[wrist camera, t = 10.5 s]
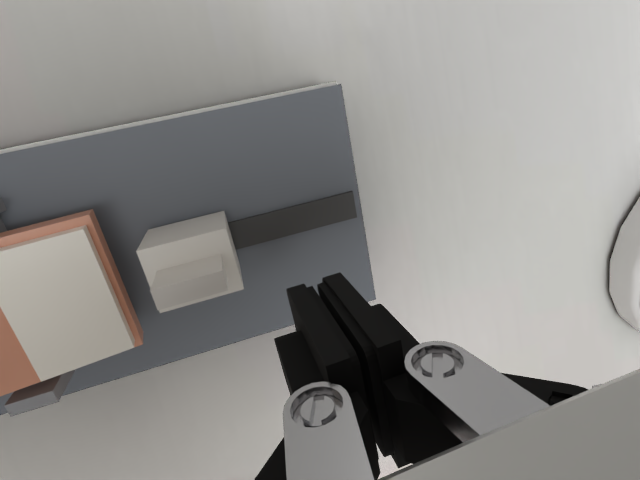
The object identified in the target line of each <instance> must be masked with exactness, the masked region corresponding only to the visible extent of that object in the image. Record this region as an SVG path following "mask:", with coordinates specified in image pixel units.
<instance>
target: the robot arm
mask: <svg viewBox="0 0 640 480" xmlns="http://www.w3.org/2000/svg"><path fill="white" fill-rule="evenodd" d="M317 288H318V293H319V295H318V293H317V292H316V290H315V289H314V287H313V286H310V287H306V285H305V284H304V283H303V284H300V285H297V286H294V287H290V288H287V289H286V291H287V296H288V300H289V304H290V308H291V312H292V316H293V319H294V323H295V327H296V332H293V333H290V334H287V335H284V336H281V337H278V338H275V339H274V340H275V344H276V347H277V351H278V354H279V358H280V362H281V365H282V369H283V372H284V376H285V379H286V382H287V385H288V389H289V392H290V395H291V396H290V397H289V398H288V400H287V402H286V403H285V405H284V410H283V426H284V438H283V439H282V441H281V442H280V444H279V445H278V446H277V448H276V449H275V451H274V452H273V454H272V455H271V457H270V458H269V459H268V461H267V462H266V464H265V465H264V467H263V468H262V470H261V471H260V472H259V474H258V475H257V477H256V478H255V480H377V479H378V477H379V474H380V469H379V464H378V459H379V458H378V452H377V447H376V444H377V445H378V447H379V449H380V451H381V453H382V454H383V456H384V457H386V456H389V455H391V456H392V458H393V459H394V461H395V463H396V465H397V467H398V468H400V467H403V466H405V465H407V464H410V463H412V464H413V465H410V466H408V467H406V468H403V469H401V470H399V471H396V472H394V473H392V474H389V475H387V476H385V477H382V478H380V479H378V480H640V369H638V370H636V371H633V372H631V373H629V374H626V375H624V376H621V377H619V378H616V379H614V380H611V381H609V382H606V383H604V384H600V385H594V386H592V389H590V390H588V389H586V388H583V387H579V386H575V385H571V384H566V383H559V382H553V381H547V380H541V379H535V378H529V377H523V376H517V375H511V374H504V373H500V372H498V371H497V370H495V369H494V368H492V367H491V366H489V365H488V364H486V363H485V362H483V361H482V360H480V359H479V358H477V357H476V356H474V355H473V354H471V353H469V352H468V351H466V350H465V349H463V348H462V347H460V346H458V345H456V344H453V343H449V342H445V341H431V342H425V343H422V344H419V343H418V341H417V340H416V339H415V338H414V337H413V336H412V335H411V334H410V333H409V332H408V331H407V330H406V329H405V328H404V327H403V326H402V325H401V324H400V323H399V322H398V321H397V320H396V319H395V318H394V317H393V316H392V315H391V314H390V312H389V311H388V310H387V309H386V308H385V307H384V306H383V305H381V304H377V305H374V306H370V305H369V304H368V302H367V301H366V300H365V299H364V298H363V297H362V296H361V295H360V294H359V292H358V291H357V290H356V289H355V288H354V287H353V286H352V285H351V283H350V282H349V281H348V280H347V279H346V278H345V277H344V276H343V275H342V273H340V272H339V273H336V274H333V275H329V276H326V277H323V278H322V283H320V284H317Z"/></svg>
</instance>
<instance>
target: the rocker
mask: <svg viewBox="0 0 640 480" xmlns="http://www.w3.org/2000/svg"><path fill="white" fill-rule="evenodd" d="M142 344H143V330H142V327H141V325H140V322H139V320H138V318H137V315H136V313H135V310H134V308H133V305H132V303H131V301H130V298H129V296H128V293H127V291H126V288H125V286H124V284H123V281H122V279H121V276H120V274H119V271H118V269H117V267H116V264H115V262H114V259H113V257H112V254H111V252H110V250H109V247H108V245H107V242H106V240H105V237H104V235H103V233H102V230H101V228H100V225H99V223H98V220H97V218H96V216H95V213H94V211H93V209H91V210H87V211H83V212H79V213H75V214H71V215H67V216H63V217H60V218H56V219H52V220H48V221H44V222H40V223H36V224H32V225H29V226H25V227H21V228H17V229H13V230H9V231H5V232H1V233H0V396H3V395H6V394H9V393H11V392H14V391H17V390H19V389H22V388H25V387H28V386H30V385H33V384H36V383H39V382H42V381H45V380H47V379H50V378H53V377H56V376H58V375H61V374H64V373H66V372H69V371H72V370H75V369H77V368H80V367H83V366H86V365H88V364H91V363H94V362H96V361H99V360H102V359H105V358H107V357H110V356H113V355H116V354H118V353H121V352H124V351H126V350H129V349H132V348H134V347H137V346H140V345H142Z"/></svg>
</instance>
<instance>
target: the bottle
mask: <svg viewBox="0 0 640 480" xmlns="http://www.w3.org/2000/svg"><path fill="white" fill-rule="evenodd" d="M609 292H610V294H611V297H612V300H613V302H614V305H615V307H616V310H617V312H618V314H619V316H620V317H621V318H623V319H624V320H625V321H626V322H628V323H629V324H630V325H631V326H632V327H634V328H635V329H636V330H637V331H639V332H640V197H639V199H638V200H637V202H636V204H635V205H634V207H633V208H632V210H631V212H630V213H629V215H628V217H627V218H626V220H625V221H624V223H623V225H622V226H621V228H620V231H619V234H618V238H617V241H616V244H615V247H614V250H613V253H612V257H611V260H610V282H609Z"/></svg>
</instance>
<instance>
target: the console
mask: <svg viewBox="0 0 640 480" xmlns="http://www.w3.org/2000/svg"><path fill="white" fill-rule="evenodd" d="M91 209H93V211H94V213H95V216H96V218H97V220H98V223H99V225H100V228H101V230H102V233H103V235H104V237H105V240H106V242H107V245H108V247H109V250H110V252H111V254H112V257H113V259H114V262H115V264H116V267H117V269H118V271H119V274H120V276H121V279H122V281H123V284H124V286H125V288H126V291H127V293H128V296H129V298H130V301H131V303H132V305H133V308H134V310H135V313H136V315H137V318H138V320H139V322H140V325H141V327H142V330H143V344H142V345H140V346H137V347H134V348H132V349H129V350H126V351H124V352H121V353H118V354H116V355H113V356H110V357H107V358H105V359H102V360H99V361H96V362H94V363H91V364H88V365H86V366H83V367H80V368H77V369H75V370H72V371H69V372H66V373H64V374H61V375H58V376H56V377H53V378H50V379H47V380H45V381H42V382H39V383H36V384H33V385H30V386H28V387H25V388H22V389H19V390H17V391H14V392H11V393H9V394H6V395H3V396H0V415H2V414H5V413H9V415H10V416H14V415H17V414H21V413H24V412H27V411H30V410H33V409H37V408H40V407H43V406H46V405H50V404H53V403H56V402H59V400H60V398H61V396H64V395H67V394H70V393H73V392H77V391H80V390H83V389H86V388H90V387H93V386H96V385H99V384H103V383H106V382H109V381H112V380H115V379H119V378H122V377H125V376H128V375H132V374H135V373H138V372H141V371H145V370H148V369H151V368H154V367H158V366H161V365H164V364H167V363H171V362H174V361H177V360H180V359H184V358H187V357H190V356H193V355H197V354H200V353H203V352H206V351H210V350H213V349H216V348H219V347H223V346H226V345H229V344H232V343H236V342H239V341H242V340H245V339H249V338H252V337H255V336H258V335H262V334H265V333H268V332H271V331H274V330H278V329H281V328H284V327H287V326H291V325H294V324H295V323H294V319H293V316H292V312H291V308H290V304H289V300H288V296H287V291H286V289H287V288H290V287H294V286H297V285H300V284H303V283H304V284H305V285H306V287H310V286H313V287H314V289H315V290H316V292H317V293H318V288H317V284H320V283H322V278H323V277H326V276H329V275H333V274H336V273H339V272H340V273H342V275H343V276H344V277H345V278H346V279H347V280H348V281H349V282H350V283H351V285H352V286H353V287H354V288H355V289H356V290H357V291H358V292H359V294H360V295H361V296H362V297H363V298H364V299H365V300H366V301H367V302H369V301H372V300H375V299H376V297H375V291H374V285H373V278H372V272H371V266H370V260H369V254H368V247H367V241H366V235H365V229H364V223H363V216H362V210H361V204H360V198H359V192H358V185H357V179H356V173H355V167H354V161H353V155H352V148H351V142H350V136H349V130H348V124H347V117H346V111H345V105H344V99H343V93H342V86H341V84H338V85H337V83H336V81H333V82H328V83H323V84H319V85H314V86H309V87H304V88H299V89H294V90H289V91H284V92H279V93H274V94H270V95H265V96H260V97H255V98H250V99H245V100H240V101H235V102H230V103H225V104H221V105H216V106H211V107H206V108H201V109H196V110H191V111H186V112H181V113H176V114H172V115H167V116H162V117H157V118H152V119H147V120H142V121H137V122H132V123H127V124H123V125H118V126H113V127H108V128H103V129H98V130H93V131H88V132H83V133H78V134H74V135H69V136H64V137H59V138H54V139H49V140H44V141H39V142H34V143H29V144H25V145H20V146H15V147H10V148H5V149H0V233H1V232H5V231H9V230H13V229H17V228H21V227H25V226H29V225H32V224H36V223H40V222H44V221H48V220H52V219H56V218H60V217H63V216H67V215H71V214H75V213H79V212H83V211H87V210H91ZM220 211H224V212H225V215H226V219H227V222H228V226H229V229H230V233H231V236H232V239H233V243H234V246H235V250H236V253H237V257H238V260H239V264H240V269H241V275H242V281H243V287H244V289H243V290H240V291H236V292H233V293H229V294H226V295H222V296H219V297H215V298H212V299H208V300H205V301H201V302H198V303H194V304H191V305H187V306H184V307H180V308H177V309H173V310H170V311H166V312H163V313H160V312H159V310H157V307H156V305H155V302H154V300H153V297H152V294H151V292H150V286H149V283H148V281H147V278H146V276H145V273H144V271H143V268H142V265H141V263H140V260H139V258H138V255H137V252H136V251H137V249H138V247H139V245H140V243H141V241H142V240H143V238H144V236H145V234H146V232H147V231H148V229H152V228H156V227H160V226H164V225H168V224H172V223H176V222H180V221H184V220H188V219H192V218H196V217H200V216H204V215H208V214H212V213H216V212H220ZM318 295H319V293H318Z"/></svg>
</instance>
